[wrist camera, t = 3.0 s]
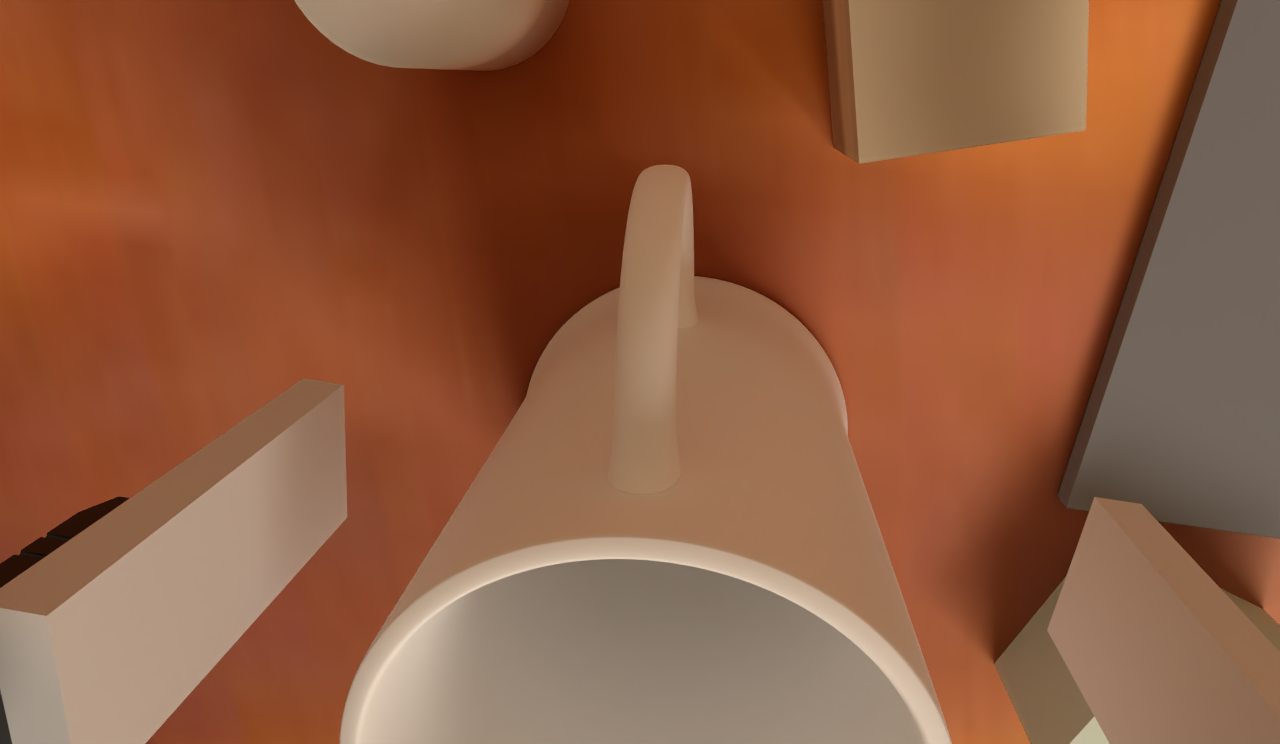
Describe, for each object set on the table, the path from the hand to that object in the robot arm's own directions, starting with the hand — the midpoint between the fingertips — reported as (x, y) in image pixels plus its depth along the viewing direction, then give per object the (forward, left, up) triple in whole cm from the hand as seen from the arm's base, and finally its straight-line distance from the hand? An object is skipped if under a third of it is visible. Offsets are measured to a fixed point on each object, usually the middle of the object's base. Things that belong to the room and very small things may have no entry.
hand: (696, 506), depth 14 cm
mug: (0, 0, -7) cm, 7 cm away
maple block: (+4, +8, -7) cm, 12 cm away
